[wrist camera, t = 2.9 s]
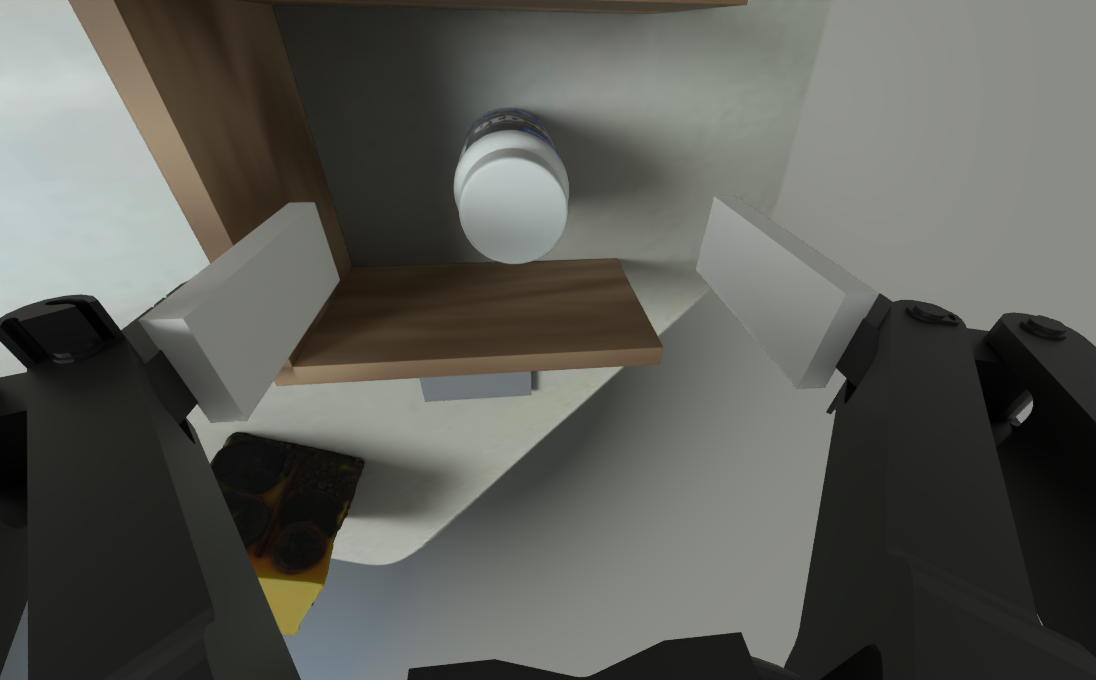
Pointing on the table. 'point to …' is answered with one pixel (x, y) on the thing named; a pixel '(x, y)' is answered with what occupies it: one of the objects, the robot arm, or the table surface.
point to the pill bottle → (511, 187)
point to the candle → (286, 515)
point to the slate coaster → (476, 386)
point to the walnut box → (296, 176)
